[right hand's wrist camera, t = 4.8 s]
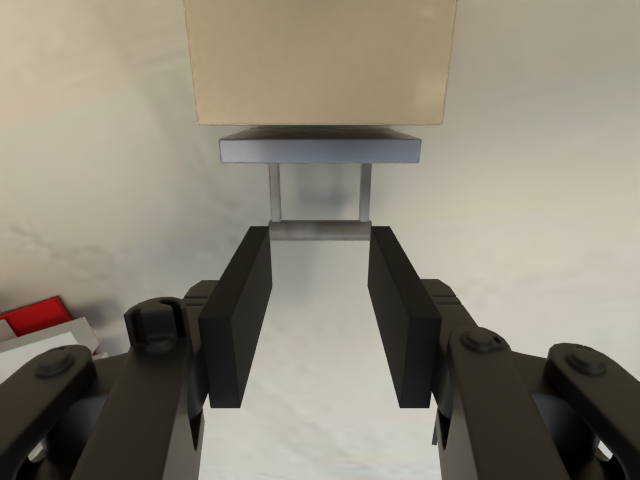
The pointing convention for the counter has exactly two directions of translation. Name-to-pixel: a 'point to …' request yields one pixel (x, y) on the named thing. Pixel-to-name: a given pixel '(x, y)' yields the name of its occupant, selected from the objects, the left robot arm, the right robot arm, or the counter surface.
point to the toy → (40, 337)
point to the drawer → (320, 149)
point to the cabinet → (320, 61)
